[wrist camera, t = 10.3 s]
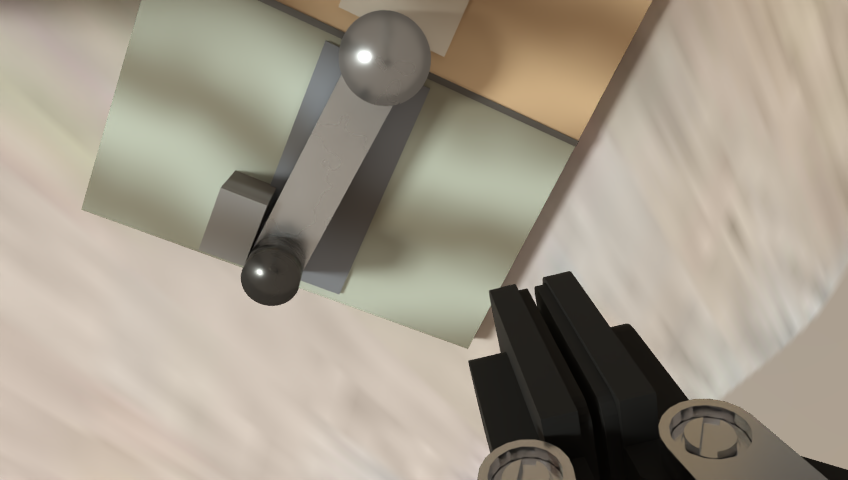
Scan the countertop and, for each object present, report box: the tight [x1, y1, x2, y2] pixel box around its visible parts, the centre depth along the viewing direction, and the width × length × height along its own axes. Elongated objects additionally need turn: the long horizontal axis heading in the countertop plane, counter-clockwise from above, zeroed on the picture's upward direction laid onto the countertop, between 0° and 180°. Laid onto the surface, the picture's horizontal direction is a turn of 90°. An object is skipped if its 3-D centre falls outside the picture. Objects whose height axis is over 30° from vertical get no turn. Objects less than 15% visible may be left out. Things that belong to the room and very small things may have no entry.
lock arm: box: [241, 10, 431, 306], centre depth 26 cm, size 13×4×4 cm, turn 150°
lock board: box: [81, 0, 652, 349], centre depth 26 cm, size 22×20×4 cm
